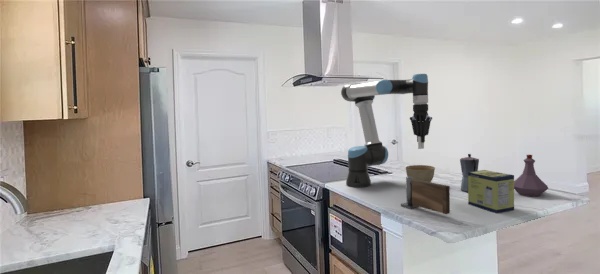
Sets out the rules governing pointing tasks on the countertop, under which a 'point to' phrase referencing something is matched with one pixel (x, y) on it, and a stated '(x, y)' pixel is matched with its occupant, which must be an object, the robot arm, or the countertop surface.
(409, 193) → the gate post
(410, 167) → the planter bowl
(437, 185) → the gate
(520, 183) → the flask
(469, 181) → the protein box
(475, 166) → the moka pot
